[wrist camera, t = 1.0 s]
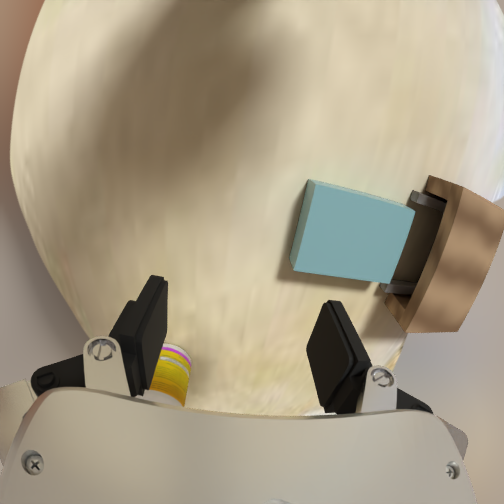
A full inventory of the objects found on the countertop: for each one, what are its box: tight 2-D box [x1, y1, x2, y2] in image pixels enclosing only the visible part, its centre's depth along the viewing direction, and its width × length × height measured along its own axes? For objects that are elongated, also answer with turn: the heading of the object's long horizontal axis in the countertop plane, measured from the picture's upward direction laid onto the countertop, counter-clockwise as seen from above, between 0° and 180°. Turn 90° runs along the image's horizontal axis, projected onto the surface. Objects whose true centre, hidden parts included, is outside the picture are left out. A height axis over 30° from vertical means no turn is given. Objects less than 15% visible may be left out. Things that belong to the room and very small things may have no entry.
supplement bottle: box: [135, 343, 191, 407], centre depth 30 cm, size 7×7×13 cm
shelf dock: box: [380, 175, 504, 333], centre depth 28 cm, size 18×13×6 cm
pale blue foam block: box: [289, 179, 416, 284], centre depth 28 cm, size 9×12×3 cm
